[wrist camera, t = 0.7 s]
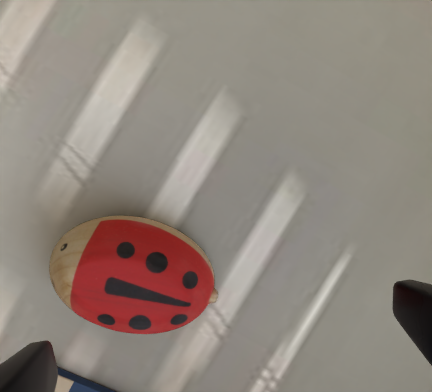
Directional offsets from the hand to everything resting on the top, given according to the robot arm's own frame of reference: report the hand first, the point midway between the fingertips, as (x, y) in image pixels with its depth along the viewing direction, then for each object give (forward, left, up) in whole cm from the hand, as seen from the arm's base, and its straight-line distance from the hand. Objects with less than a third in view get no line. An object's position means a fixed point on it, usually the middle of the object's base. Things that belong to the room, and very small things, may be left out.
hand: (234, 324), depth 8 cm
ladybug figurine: (-1, +4, -12) cm, 13 cm away
